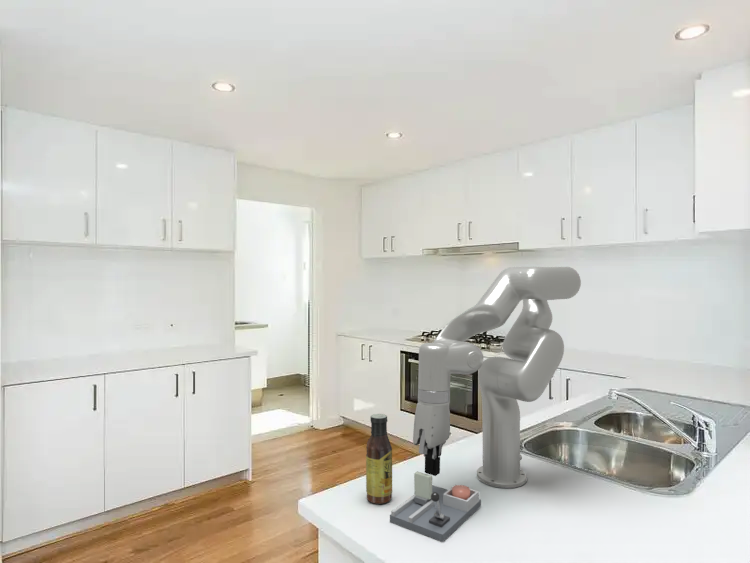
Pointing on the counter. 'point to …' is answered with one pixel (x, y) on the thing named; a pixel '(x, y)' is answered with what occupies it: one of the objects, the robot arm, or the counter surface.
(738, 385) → the counter surface
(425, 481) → the pale green block
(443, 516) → the toggle
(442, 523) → the panel
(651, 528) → the counter surface
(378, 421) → the sauce bottle
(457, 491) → the button
